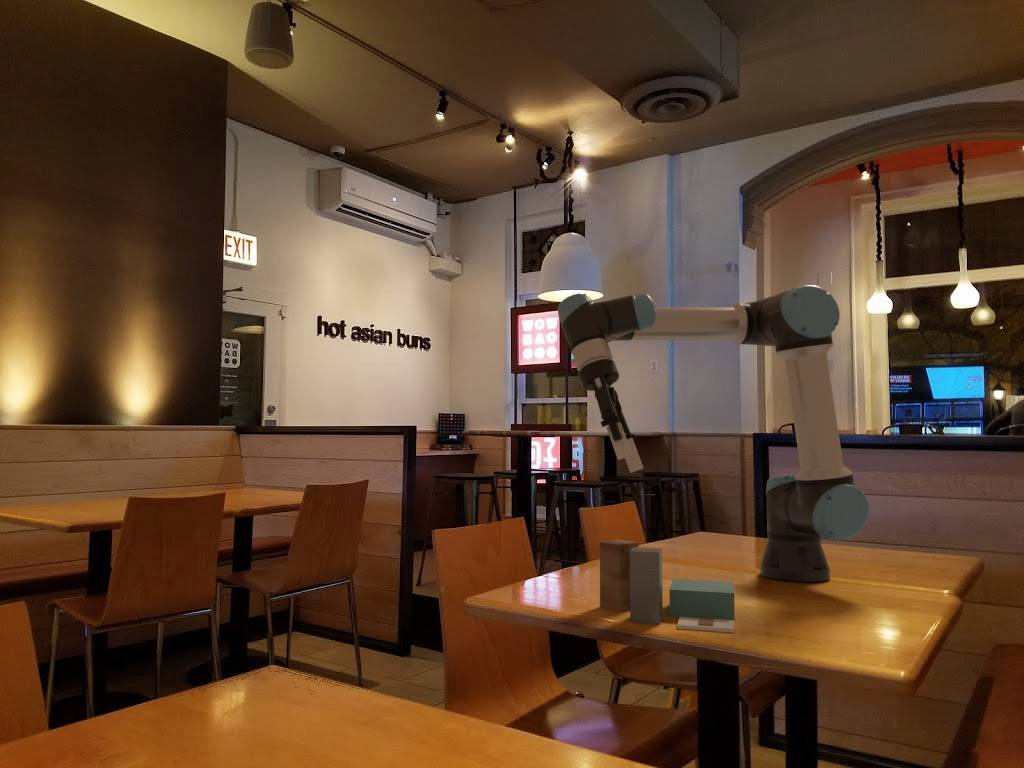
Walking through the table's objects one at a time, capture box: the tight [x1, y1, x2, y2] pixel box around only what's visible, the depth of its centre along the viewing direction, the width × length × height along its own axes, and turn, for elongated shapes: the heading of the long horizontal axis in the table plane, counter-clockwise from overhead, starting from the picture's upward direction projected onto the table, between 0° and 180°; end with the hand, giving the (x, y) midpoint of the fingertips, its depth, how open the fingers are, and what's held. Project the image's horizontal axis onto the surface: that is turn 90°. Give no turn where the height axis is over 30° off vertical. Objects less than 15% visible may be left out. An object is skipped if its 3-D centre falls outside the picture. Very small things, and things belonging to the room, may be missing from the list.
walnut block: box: [599, 539, 639, 612], centre depth 140 cm, size 5×5×12 cm
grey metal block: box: [629, 546, 664, 625], centre depth 130 cm, size 5×5×12 cm
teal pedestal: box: [669, 578, 736, 622], centre depth 137 cm, size 11×11×5 cm
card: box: [676, 617, 735, 634], centre depth 126 cm, size 9×6×1 cm, turn 74°
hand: (631, 464), depth 143 cm, fingers open, 13 cm apart
